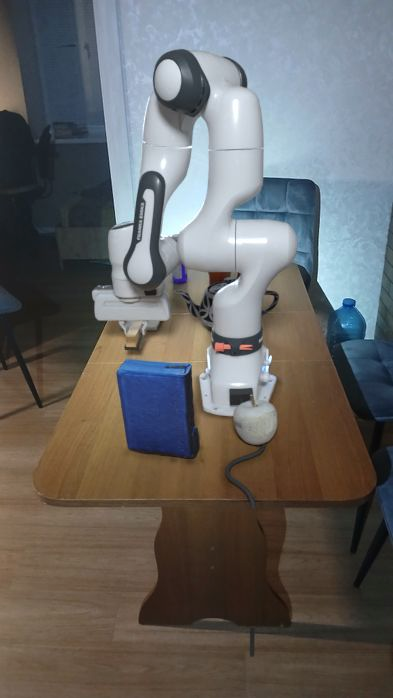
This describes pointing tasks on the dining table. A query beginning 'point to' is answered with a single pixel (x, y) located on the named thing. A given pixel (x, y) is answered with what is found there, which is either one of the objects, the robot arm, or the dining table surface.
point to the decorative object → (255, 421)
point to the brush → (134, 337)
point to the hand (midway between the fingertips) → (135, 334)
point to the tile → (150, 326)
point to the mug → (219, 276)
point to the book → (158, 407)
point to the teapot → (206, 305)
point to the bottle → (179, 269)
